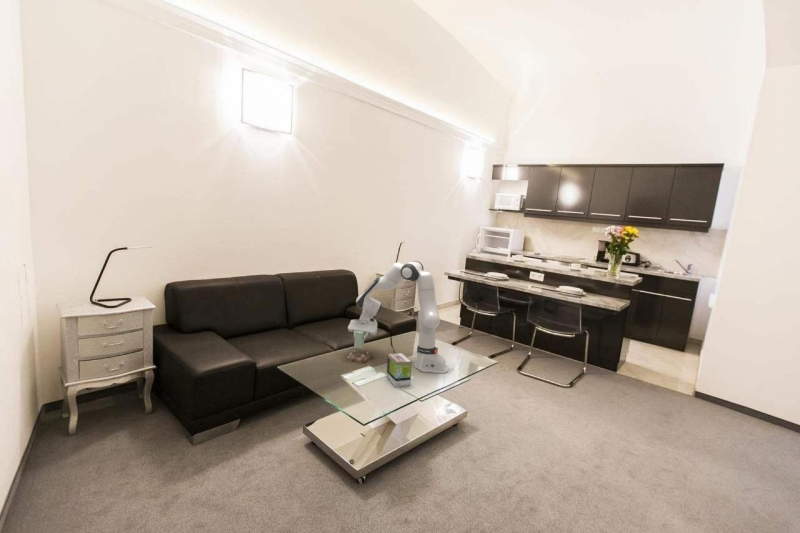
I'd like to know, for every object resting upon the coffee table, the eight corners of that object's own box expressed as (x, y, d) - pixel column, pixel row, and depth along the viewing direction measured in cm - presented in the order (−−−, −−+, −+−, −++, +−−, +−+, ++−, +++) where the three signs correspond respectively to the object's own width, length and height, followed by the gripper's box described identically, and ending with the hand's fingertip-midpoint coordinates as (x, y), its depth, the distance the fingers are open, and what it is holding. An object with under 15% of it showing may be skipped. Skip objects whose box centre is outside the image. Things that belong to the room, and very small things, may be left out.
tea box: (410, 385, 210) (412, 360, 209) (394, 387, 206) (396, 362, 205) (401, 375, 224) (402, 352, 222) (385, 377, 220) (387, 353, 219)
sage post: (363, 345, 248) (364, 331, 247) (361, 347, 243) (362, 333, 242) (357, 344, 249) (357, 330, 248) (354, 346, 245) (355, 332, 244)
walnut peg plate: (371, 357, 251) (371, 350, 251) (364, 363, 240) (365, 356, 239) (352, 354, 255) (352, 347, 254) (345, 360, 243) (345, 353, 243)
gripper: (350, 316, 254) (343, 333, 246) (378, 320, 249) (372, 337, 240) (352, 321, 259) (346, 338, 250) (379, 325, 253) (374, 342, 245)
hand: (359, 338), depth 245 cm, fingers closed on sage post, 5 cm apart
